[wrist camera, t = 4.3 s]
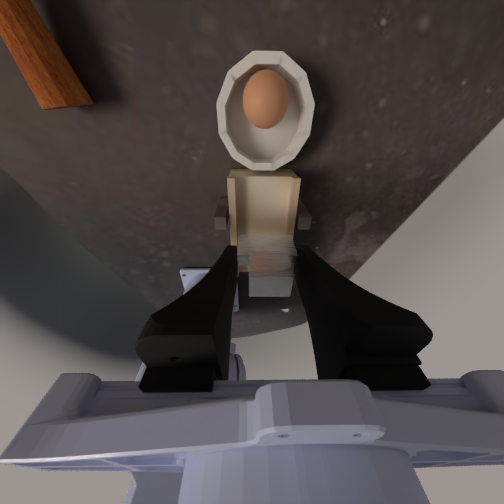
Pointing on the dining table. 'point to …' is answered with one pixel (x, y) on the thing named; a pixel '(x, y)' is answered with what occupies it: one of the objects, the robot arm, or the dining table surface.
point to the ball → (265, 99)
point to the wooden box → (261, 205)
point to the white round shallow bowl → (273, 139)
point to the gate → (268, 263)
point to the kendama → (40, 57)
